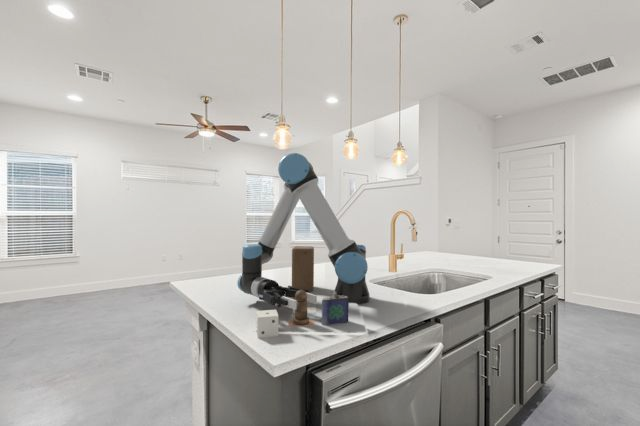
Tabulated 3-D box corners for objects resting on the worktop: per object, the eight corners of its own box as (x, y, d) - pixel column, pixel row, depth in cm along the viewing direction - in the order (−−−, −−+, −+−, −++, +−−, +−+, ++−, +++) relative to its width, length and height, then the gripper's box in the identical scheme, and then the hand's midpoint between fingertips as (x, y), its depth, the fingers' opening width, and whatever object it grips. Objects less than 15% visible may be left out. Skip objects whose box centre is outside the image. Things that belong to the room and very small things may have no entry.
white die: (276, 328, 94) (276, 309, 94) (278, 336, 88) (278, 315, 88) (256, 330, 92) (256, 310, 92) (257, 338, 87) (257, 317, 87)
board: (317, 309, 113) (317, 307, 113) (315, 329, 93) (315, 326, 93) (293, 308, 113) (293, 306, 113) (286, 328, 94) (286, 326, 94)
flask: (323, 328, 94) (323, 294, 94) (320, 325, 97) (320, 292, 97) (349, 325, 97) (350, 292, 97) (346, 322, 100) (346, 289, 100)
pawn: (308, 319, 100) (309, 288, 100) (309, 325, 94) (309, 292, 95) (293, 319, 99) (293, 288, 99) (292, 325, 94) (292, 292, 94)
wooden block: (313, 291, 139) (313, 248, 139) (291, 291, 139) (291, 248, 139) (313, 286, 149) (313, 246, 149) (293, 286, 149) (293, 246, 149)
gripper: (287, 294, 119) (328, 307, 102) (240, 304, 104) (279, 322, 88) (287, 275, 119) (328, 285, 102) (240, 283, 104) (279, 296, 88)
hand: (305, 302), depth 95 cm, fingers open, 8 cm apart
